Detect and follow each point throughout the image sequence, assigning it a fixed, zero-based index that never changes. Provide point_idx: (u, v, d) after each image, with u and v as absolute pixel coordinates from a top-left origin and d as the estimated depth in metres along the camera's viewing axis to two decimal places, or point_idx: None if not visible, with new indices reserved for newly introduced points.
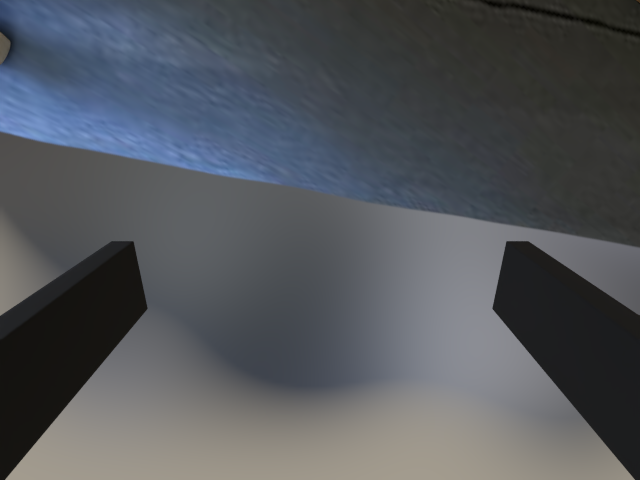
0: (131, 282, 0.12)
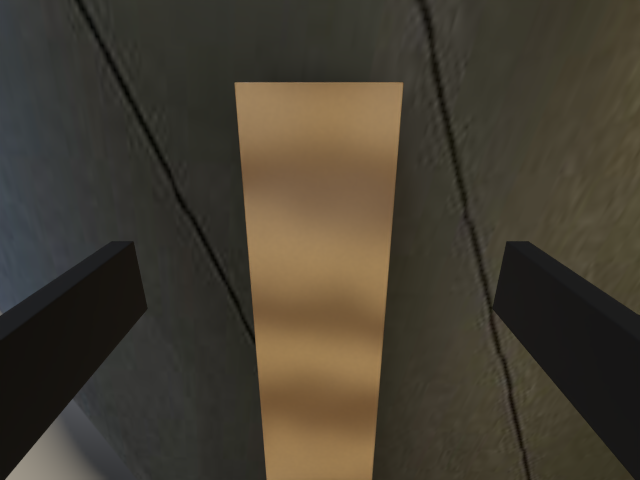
0: (131, 282, 0.12)
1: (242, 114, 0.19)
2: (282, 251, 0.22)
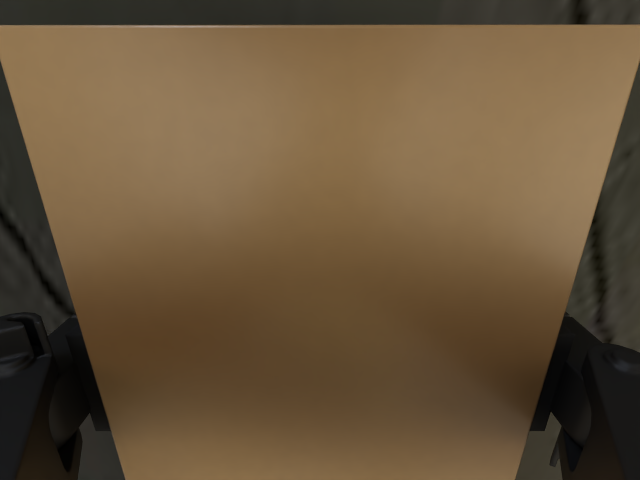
0: None
1: (43, 146, 0.05)
2: None
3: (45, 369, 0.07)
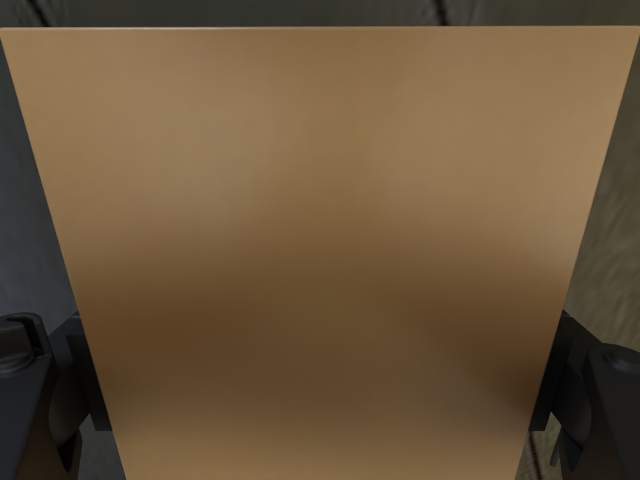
0: None
1: (48, 146, 0.05)
2: None
3: (45, 369, 0.07)
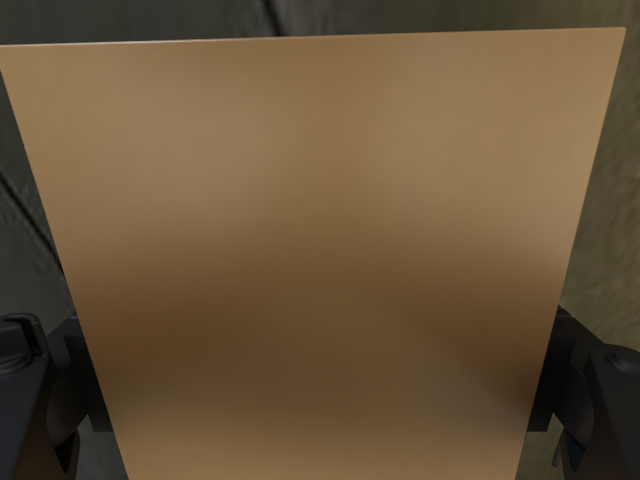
0: None
1: (44, 159, 0.06)
2: None
3: (43, 370, 0.06)
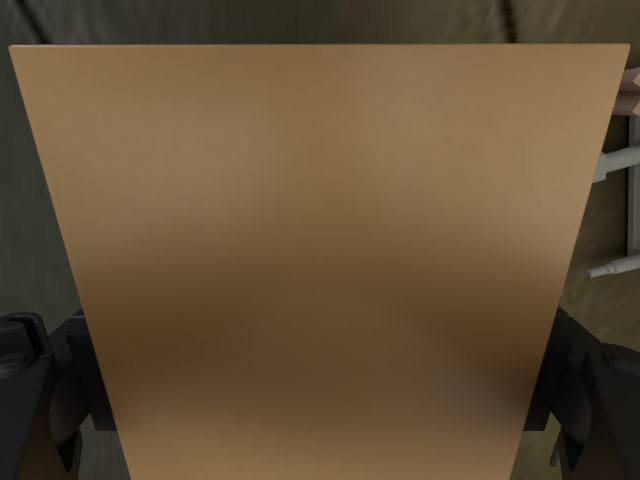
0: None
1: (56, 158, 0.06)
2: None
3: (45, 369, 0.07)
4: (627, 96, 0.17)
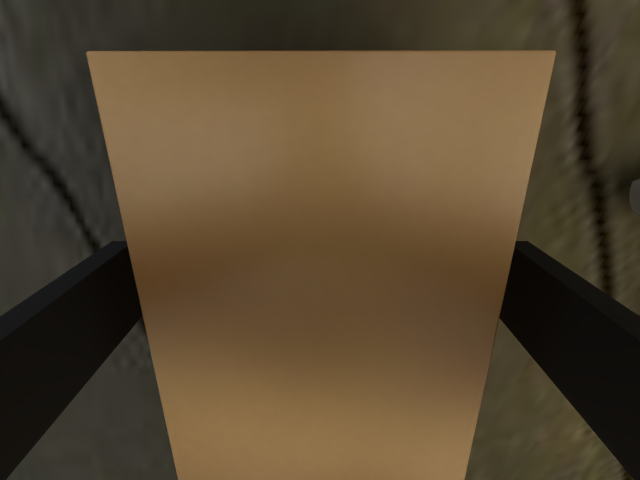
0: (132, 282, 0.12)
1: (117, 138, 0.07)
2: (241, 429, 0.10)
3: None
4: None
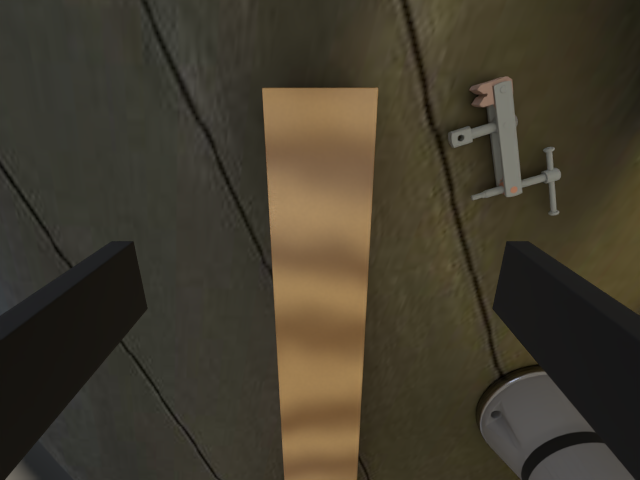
0: (131, 282, 0.12)
1: (267, 110, 0.28)
2: (293, 209, 0.31)
3: None
4: (480, 97, 0.33)
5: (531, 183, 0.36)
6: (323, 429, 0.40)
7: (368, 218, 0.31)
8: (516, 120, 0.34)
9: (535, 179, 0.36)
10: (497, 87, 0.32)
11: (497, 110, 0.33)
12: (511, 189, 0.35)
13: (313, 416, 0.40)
